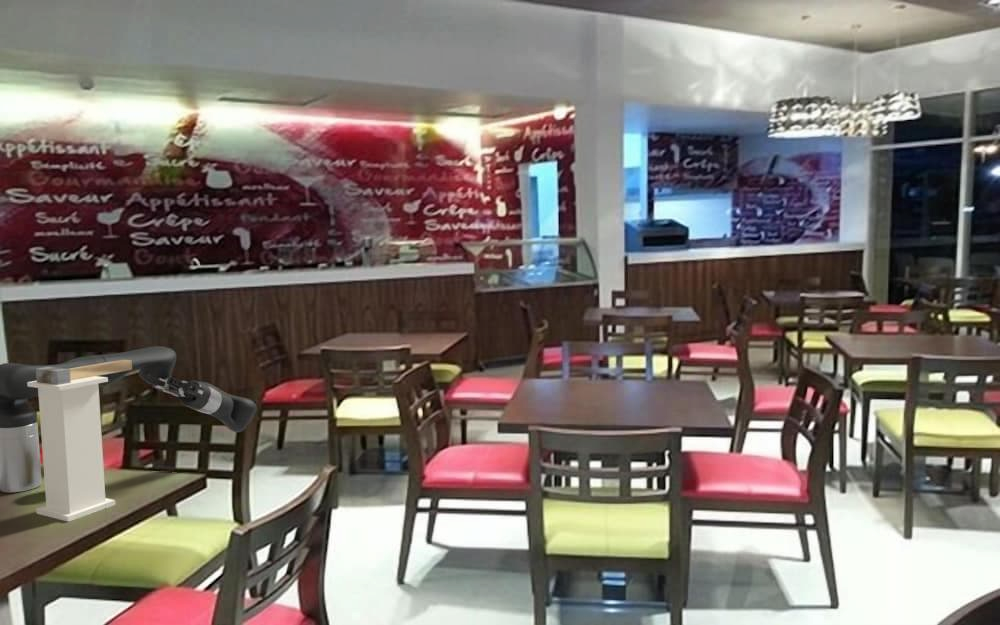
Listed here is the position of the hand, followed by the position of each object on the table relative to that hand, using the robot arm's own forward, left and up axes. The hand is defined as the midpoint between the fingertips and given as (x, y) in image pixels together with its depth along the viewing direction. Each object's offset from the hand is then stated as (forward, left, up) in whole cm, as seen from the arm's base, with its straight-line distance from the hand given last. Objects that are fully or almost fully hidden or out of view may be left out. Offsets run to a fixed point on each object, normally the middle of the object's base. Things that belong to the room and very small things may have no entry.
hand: (157, 378), depth 196 cm
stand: (0, -25, -28) cm, 37 cm away
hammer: (0, -19, +4) cm, 20 cm away
